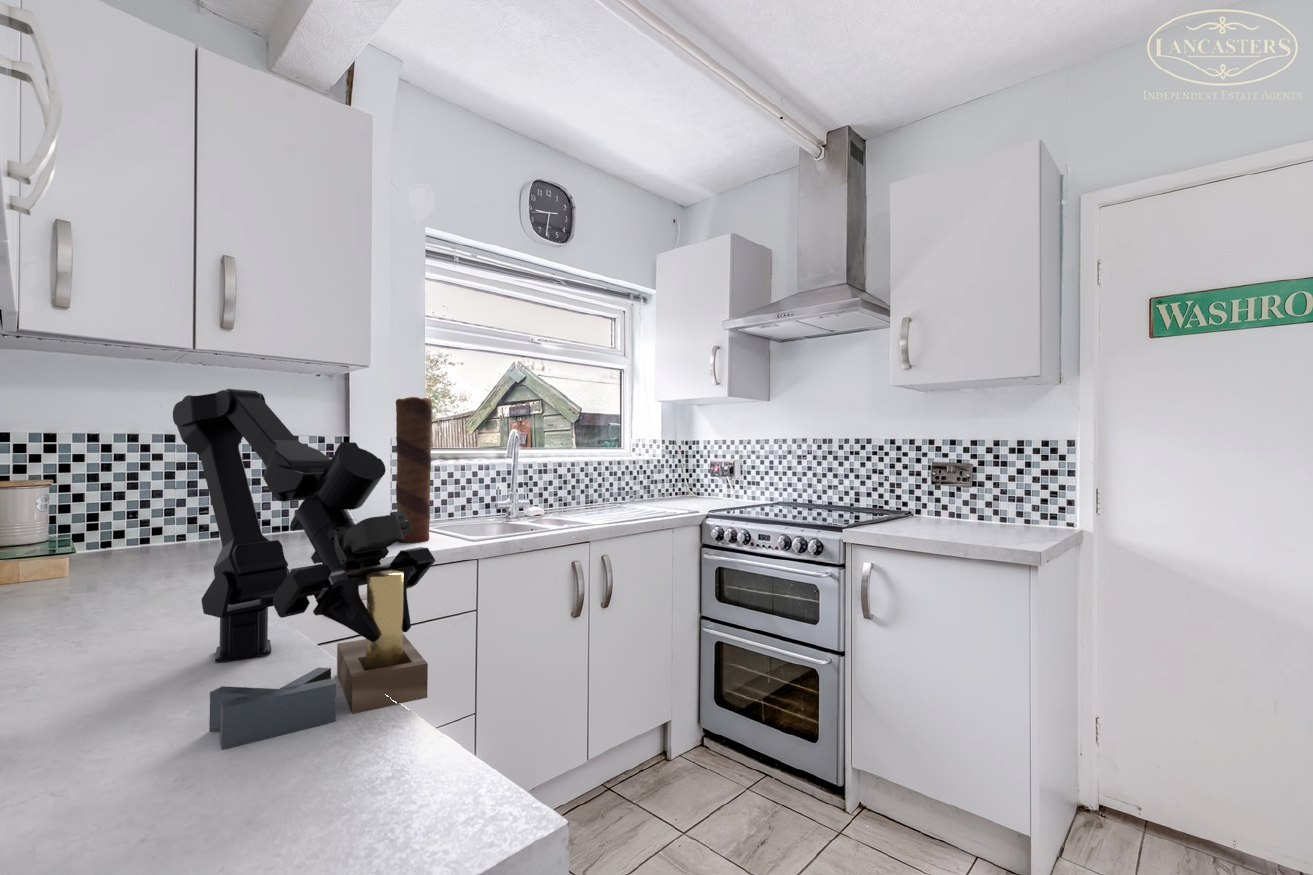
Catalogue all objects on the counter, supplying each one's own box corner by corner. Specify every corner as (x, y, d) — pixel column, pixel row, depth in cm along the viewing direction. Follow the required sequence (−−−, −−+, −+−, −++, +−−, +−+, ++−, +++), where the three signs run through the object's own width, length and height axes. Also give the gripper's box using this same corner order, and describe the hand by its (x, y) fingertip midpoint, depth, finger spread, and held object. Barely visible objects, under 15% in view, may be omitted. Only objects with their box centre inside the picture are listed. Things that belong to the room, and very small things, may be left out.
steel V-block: (208, 727, 65) (209, 688, 65) (328, 699, 72) (328, 665, 72) (213, 751, 60) (214, 709, 60) (342, 719, 67) (342, 682, 67)
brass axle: (362, 689, 75) (364, 572, 75) (398, 682, 77) (400, 569, 77) (368, 701, 71) (370, 578, 72) (405, 693, 74) (406, 575, 74)
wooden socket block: (336, 674, 80) (337, 643, 80) (402, 663, 85) (402, 633, 85) (352, 713, 69) (352, 676, 69) (427, 697, 73) (427, 663, 73)
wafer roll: (416, 544, 189) (418, 396, 190) (388, 542, 192) (389, 396, 193) (438, 539, 199) (439, 398, 200) (410, 537, 202) (412, 399, 203)
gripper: (289, 496, 68) (352, 610, 63) (426, 487, 85) (486, 577, 79) (248, 561, 72) (304, 674, 66) (386, 540, 88) (441, 630, 83)
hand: (392, 634), depth 74 cm, fingers closed on brass axle, 4 cm apart
